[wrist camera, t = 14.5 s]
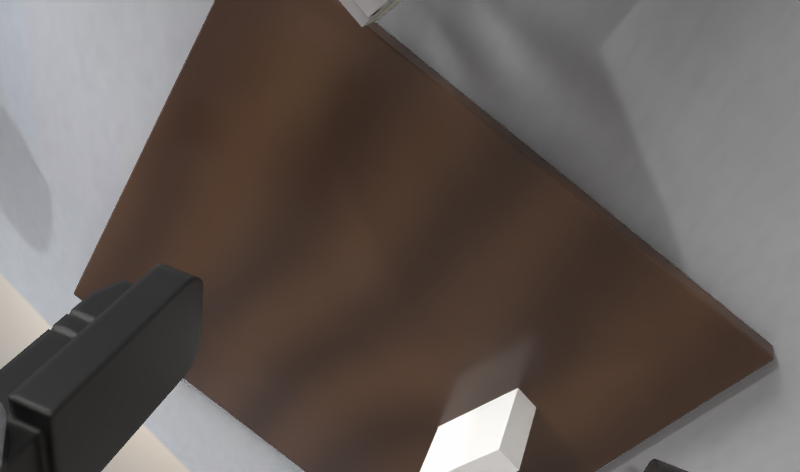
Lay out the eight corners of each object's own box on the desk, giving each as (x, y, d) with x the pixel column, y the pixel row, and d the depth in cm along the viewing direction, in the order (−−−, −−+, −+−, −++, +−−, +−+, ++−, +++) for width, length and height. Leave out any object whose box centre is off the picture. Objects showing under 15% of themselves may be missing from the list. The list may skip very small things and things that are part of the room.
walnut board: (82, 285, 39) (72, 294, 39) (258, -74, 26) (247, -70, 26) (439, 559, 41) (435, 571, 40) (774, 345, 28) (775, 359, 27)
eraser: (537, 407, 32) (519, 471, 29) (456, 444, 35) (432, 506, 32) (518, 387, 32) (498, 449, 29) (438, 425, 34) (412, 486, 31)
